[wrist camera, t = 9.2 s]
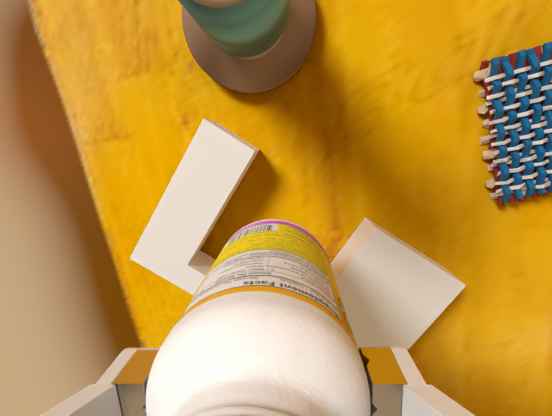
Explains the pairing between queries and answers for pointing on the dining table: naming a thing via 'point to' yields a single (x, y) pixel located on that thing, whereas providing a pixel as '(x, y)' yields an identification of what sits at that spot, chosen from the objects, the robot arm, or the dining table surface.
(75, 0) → the dining table surface
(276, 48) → the bobbin
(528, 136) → the woven mat
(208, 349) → the supplement bottle
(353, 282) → the notched board
